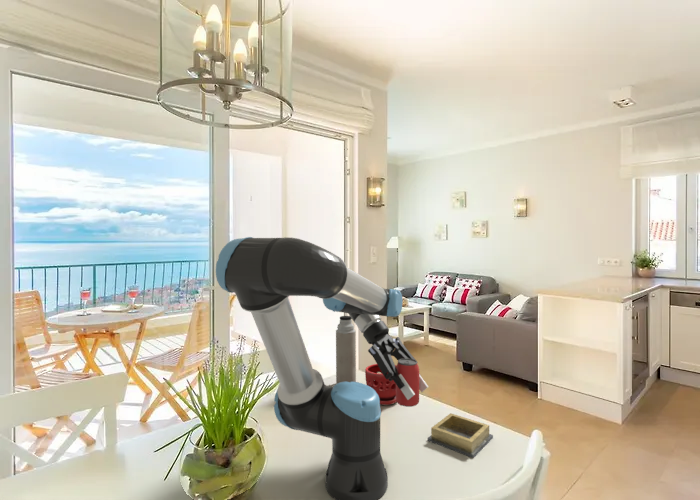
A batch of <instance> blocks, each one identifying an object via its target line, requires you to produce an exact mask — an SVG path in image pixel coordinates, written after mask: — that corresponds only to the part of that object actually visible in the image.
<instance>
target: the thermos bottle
mask: <svg viewBox="0 0 700 500" xmlns="http://www.w3.org/2000/svg"><path fill="white" fill-rule="evenodd" d="M352 321H353V320H352V318H351V317H350V315H341V316H339V323H338V324H337V329H336V330H335V372H336V373H335V374H336V375H335V377H336V378H335V382H336V384H337V383H340V382H357V367H356V364H357V361H356V359H357V355H356V353H357V350H356V348H357V347H356V346H357V345H356V340H357V339H356V338H357V337H356V329H355V325H354V324H353V322H352ZM336 384H335V385H336Z"/></svg>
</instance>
